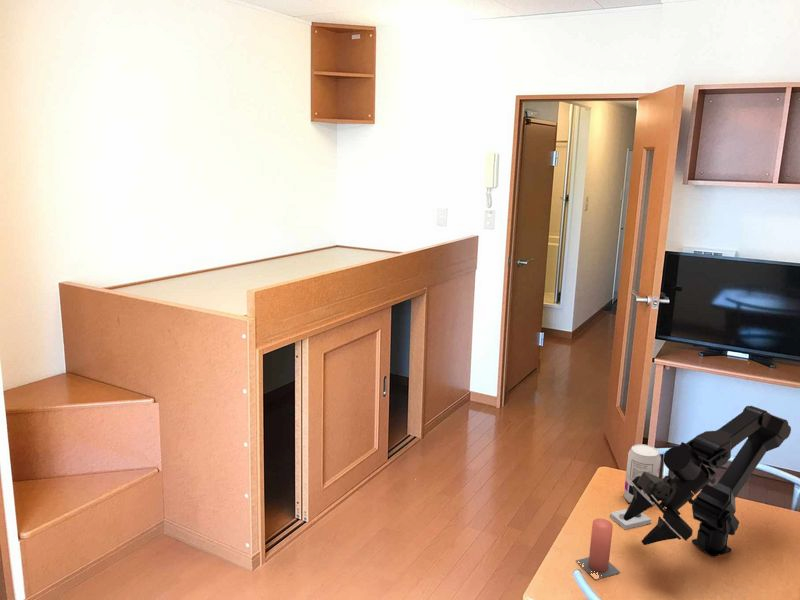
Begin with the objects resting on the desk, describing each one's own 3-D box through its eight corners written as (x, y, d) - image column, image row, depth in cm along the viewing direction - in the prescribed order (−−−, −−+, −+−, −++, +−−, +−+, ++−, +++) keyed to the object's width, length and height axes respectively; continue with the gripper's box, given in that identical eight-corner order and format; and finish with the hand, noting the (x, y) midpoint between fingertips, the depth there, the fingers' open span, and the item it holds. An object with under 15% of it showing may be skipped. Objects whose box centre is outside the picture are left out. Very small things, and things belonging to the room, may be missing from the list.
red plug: (600, 558, 151) (604, 517, 148) (612, 570, 147) (617, 527, 144) (584, 562, 149) (588, 520, 147) (596, 574, 145) (600, 531, 143)
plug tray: (634, 511, 171) (636, 498, 170) (650, 523, 166) (652, 510, 165) (609, 516, 168) (611, 504, 167) (625, 529, 163) (626, 516, 162)
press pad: (600, 555, 153) (600, 554, 153) (620, 573, 146) (620, 572, 146) (575, 561, 150) (576, 560, 150) (594, 580, 144) (594, 579, 144)
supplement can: (617, 494, 179) (622, 445, 175) (642, 490, 181) (648, 441, 178) (636, 510, 171) (641, 459, 168) (661, 505, 174) (668, 455, 170)
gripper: (643, 444, 152) (595, 488, 154) (685, 485, 134) (629, 535, 136) (671, 472, 155) (623, 515, 157) (716, 516, 137) (661, 565, 139)
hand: (633, 531), depth 147 cm, fingers open, 9 cm apart
